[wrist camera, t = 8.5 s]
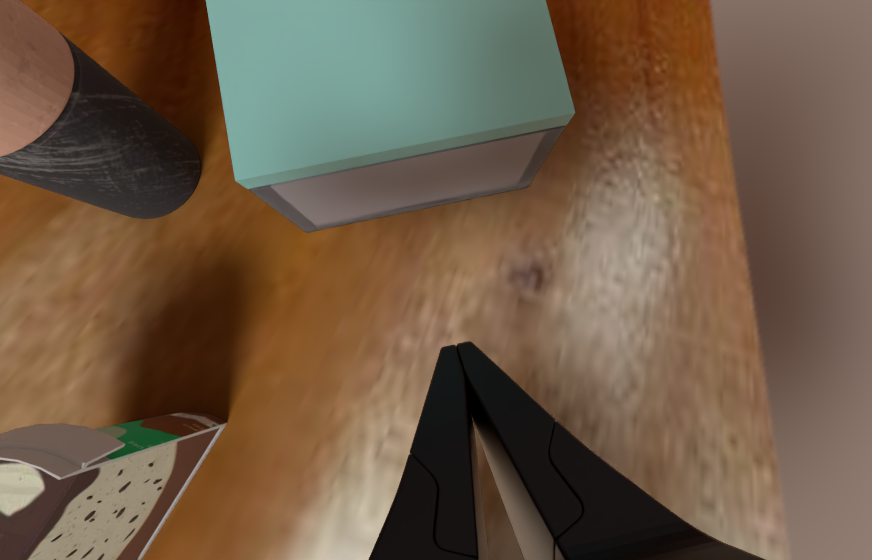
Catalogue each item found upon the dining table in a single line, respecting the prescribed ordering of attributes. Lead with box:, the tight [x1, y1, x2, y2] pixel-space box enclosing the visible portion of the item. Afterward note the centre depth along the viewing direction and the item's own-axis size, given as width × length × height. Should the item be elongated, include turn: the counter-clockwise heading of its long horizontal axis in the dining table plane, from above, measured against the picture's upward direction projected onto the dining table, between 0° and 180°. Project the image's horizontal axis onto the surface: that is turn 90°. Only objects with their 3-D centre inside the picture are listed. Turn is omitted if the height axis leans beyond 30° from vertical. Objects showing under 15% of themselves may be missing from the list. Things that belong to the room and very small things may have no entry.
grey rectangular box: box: [250, 125, 565, 233], centre depth 21 cm, size 10×16×7 cm, turn 102°
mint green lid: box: [206, 0, 575, 189], centre depth 16 cm, size 10×16×1 cm, turn 102°
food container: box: [0, 411, 227, 560], centre depth 16 cm, size 12×6×10 cm, turn 150°
